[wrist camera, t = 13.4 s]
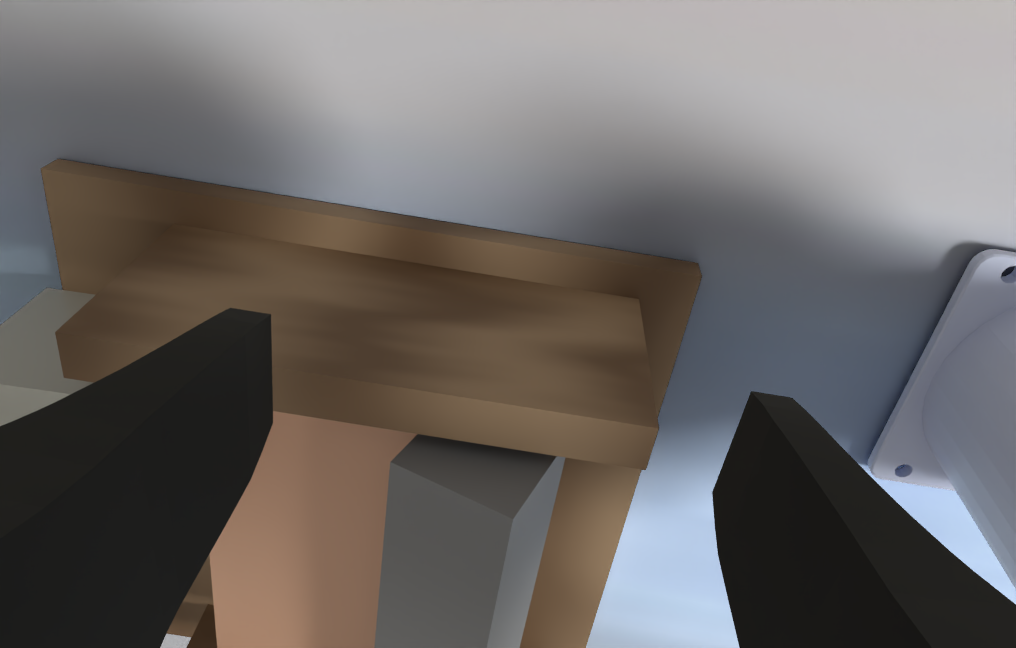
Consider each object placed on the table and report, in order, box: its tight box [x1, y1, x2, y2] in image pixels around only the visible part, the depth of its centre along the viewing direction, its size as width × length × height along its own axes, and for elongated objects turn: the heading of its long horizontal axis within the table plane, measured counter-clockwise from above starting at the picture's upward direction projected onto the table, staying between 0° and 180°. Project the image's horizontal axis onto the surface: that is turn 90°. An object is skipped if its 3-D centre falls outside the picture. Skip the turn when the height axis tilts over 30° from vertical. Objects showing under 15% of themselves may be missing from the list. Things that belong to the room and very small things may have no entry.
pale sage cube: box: [0, 288, 95, 426], centre depth 22 cm, size 4×4×5 cm
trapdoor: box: [209, 411, 565, 648], centre depth 22 cm, size 10×14×3 cm
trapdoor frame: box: [41, 159, 702, 648], centre depth 24 cm, size 18×19×6 cm
